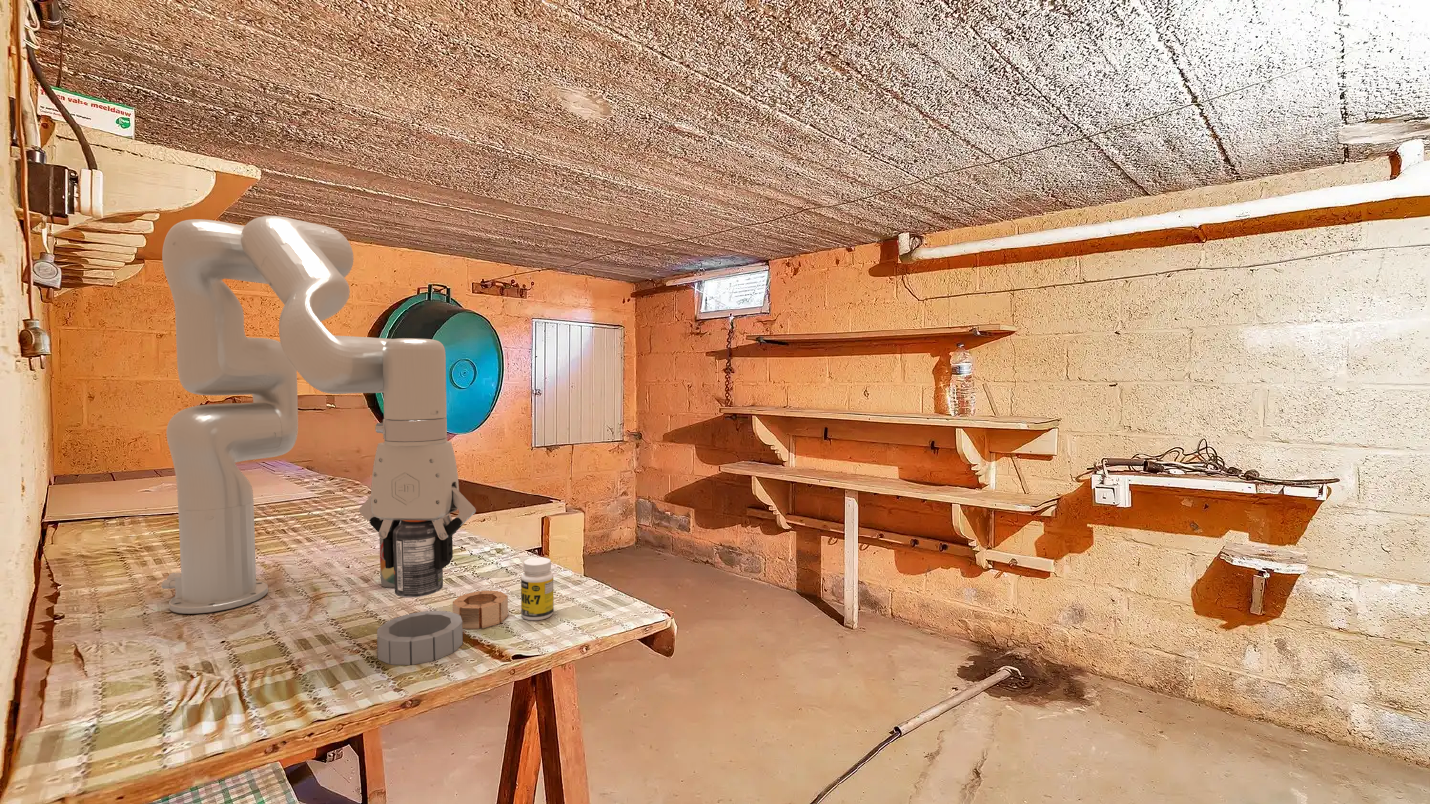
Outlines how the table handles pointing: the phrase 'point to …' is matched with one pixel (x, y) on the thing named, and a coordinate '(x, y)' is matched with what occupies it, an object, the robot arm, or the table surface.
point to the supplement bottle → (537, 589)
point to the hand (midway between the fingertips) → (418, 564)
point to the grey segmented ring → (419, 637)
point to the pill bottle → (415, 559)
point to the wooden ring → (481, 609)
